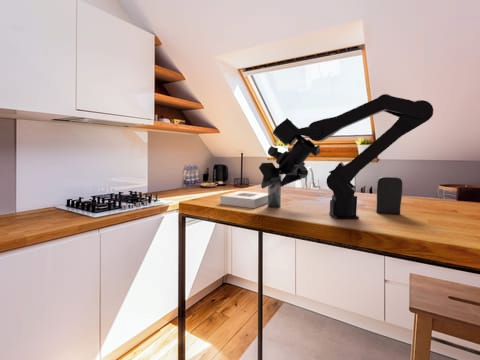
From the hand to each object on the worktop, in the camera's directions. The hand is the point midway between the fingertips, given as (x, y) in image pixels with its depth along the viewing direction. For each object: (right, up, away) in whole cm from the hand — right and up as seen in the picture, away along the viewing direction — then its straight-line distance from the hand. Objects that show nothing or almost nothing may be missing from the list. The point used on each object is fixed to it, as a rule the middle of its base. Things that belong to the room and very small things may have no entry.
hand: (271, 186), depth 95 cm
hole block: (-9, -6, +6) cm, 12 cm away
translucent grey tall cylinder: (+1, -7, 0) cm, 7 cm away
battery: (+35, -8, -10) cm, 38 cm away
